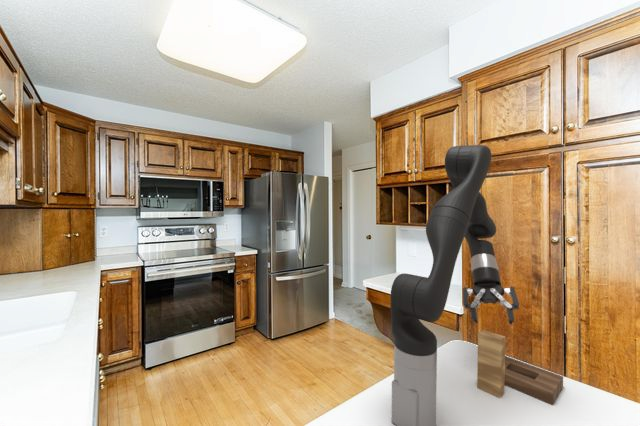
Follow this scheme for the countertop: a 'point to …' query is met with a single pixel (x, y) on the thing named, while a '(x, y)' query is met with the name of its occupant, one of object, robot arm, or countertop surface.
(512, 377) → the base board
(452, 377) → the countertop surface
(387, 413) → the countertop surface
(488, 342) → the plank
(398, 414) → the robot arm
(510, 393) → the countertop surface
